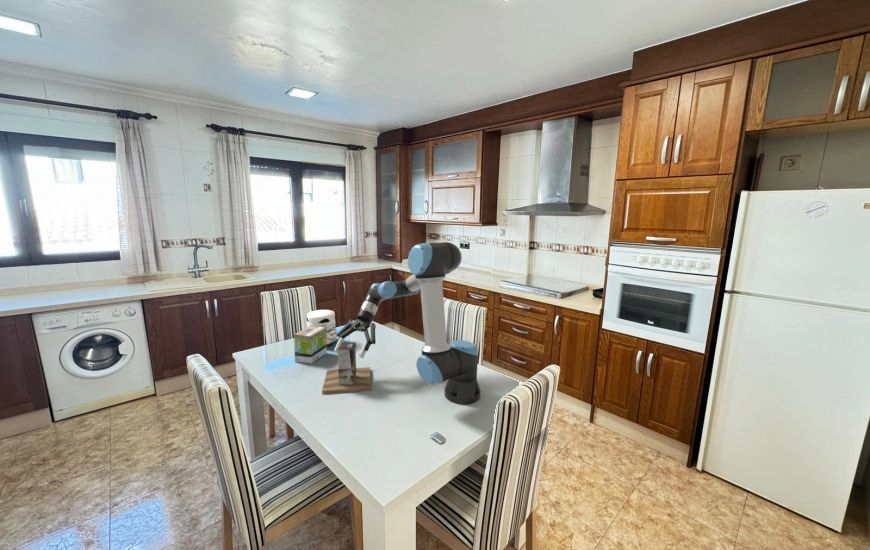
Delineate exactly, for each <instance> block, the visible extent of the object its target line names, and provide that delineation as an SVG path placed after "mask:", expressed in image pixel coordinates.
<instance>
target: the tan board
mask: <svg viewBox="0 0 870 550" xmlns="http://www.w3.org/2000/svg"><path fill="white" fill-rule="evenodd" d="M371 386H372V385H371V367H370V366H369V367H368V366H366V367H356V377H355V380H354V383H353V384H352V385H339V374H338V369H327V370H326V373H325V377H324V382H323V385H322V390H321V394H322V395H325V394H328V395H329V394H339V393H351V392H352V391H355V392H365V391H367V392H368V391H371V390H372V388H371Z"/></svg>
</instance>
